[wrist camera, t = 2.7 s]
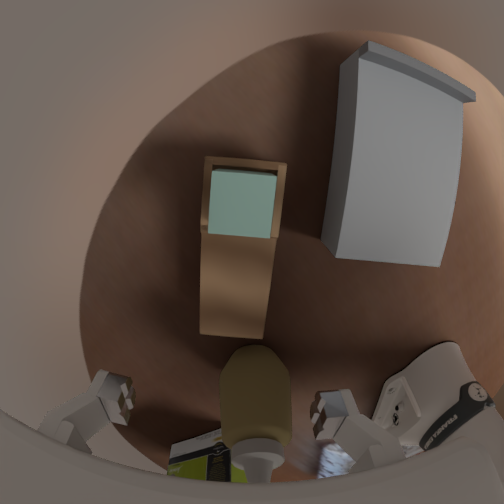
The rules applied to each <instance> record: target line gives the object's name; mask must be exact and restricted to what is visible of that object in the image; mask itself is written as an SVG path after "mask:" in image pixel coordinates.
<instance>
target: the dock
mask: <svg viewBox="0 0 504 504" xmlns="http://www.w3.org/2000/svg"><path fill="white" fill-rule="evenodd" d="M475 101H476V93H475V92H474V91H473V90H471V89H470V88H468V87H467V86H465V85H463V84H462V83H460V82H458V81H457V80H455V79H453V78H452V77H450V76H448V75H446V74H444V73H443V72H441V71H439V70H437V69H435V68H433V67H431V66H429V65H427V64H425V63H423V62H421V61H419V60H417V59H414V58H412V57H410V56H408V55H405V54H403V53H401V52H398V51H396V50H393V49H391V48H388V47H386V46H383V45H380V44H378V43H375V42H372V41H369V40H368V41H367V42H366V43H365V44H363V45H362V46H361V47H360V48H359V49H358V50H356V51H355V52H354V53H353V54H352V55H351V56H350V57H348V58H347V59H346V60H345V61H344V62H343V63H342V64H341V65H340V75H339V92H338V105H337V118H336V128H335V138H334V148H333V157H332V165H331V173H330V181H329V188H328V195H327V202H326V208H325V215H324V221H323V227H322V233H321V239H320V240H321V241H322V242H323V244H324V245H325V246H326V247H327V248H328V249H329V251H330V252H331V253H332V254H333V255H334V257H335V258H344V259H355V260H367V261H378V262H389V263H401V264H412V265H423V266H435V267H440V263H441V260H442V257H443V253H444V249H445V245H446V242H447V237H448V233H449V229H450V225H451V220H452V215H453V210H454V205H455V199H456V193H457V186H458V179H459V171H460V162H461V151H462V135H463V103H466V102H475Z"/></svg>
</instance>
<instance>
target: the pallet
mask: <svg viewBox="0 0 504 504" xmlns="http://www.w3.org/2000/svg"><path fill="white" fill-rule="evenodd" d="M216 169H231V170H243V171H254V172H264V173H272V174H273V175H275V176H277V181H276V190H275V199H274V208H273V216H272V225H271V233H270V238H258V237H247V236H235V235H223V234H210V233H208V223H209V206H210V191H211V177H212V171H213V170H216ZM286 169H287V163H280V162H271V161H262V160H252V159H241V158H228V157H212V156H205V162H204V175H203V190H202V206H201V226H200V232H202V237H201V266H200V334H206V335H216V336H227V337H239V338H254V339H263V333H264V326H265V320H266V313H267V306H268V299H269V292H270V285H271V277H272V270H273V263H274V255H275V247H276V240H277V239H278V236H279V228H280V220H281V212H282V204H283V195H284V187H285V178H286Z"/></svg>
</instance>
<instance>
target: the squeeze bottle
mask: <svg viewBox="0 0 504 504" xmlns="http://www.w3.org/2000/svg"><path fill="white" fill-rule="evenodd" d="M219 395H220V415H221V432H222V441H223V443H224V444H225V445H226V447H228V448H229V449H231V450H232V452H231V463H232V464H233V465H234V467H236V468H239V469H241V470H244V472H245V475H246V478H247V482H248V483H270V479H271V474H272V469H275V468H277V467H279V466H280V465H282V464H283V462H284V461H285V458H284V449H283V448H284V447H285V446H286V445H288V444H289V442H290V440H291V439H292V411H291V381H290V376H289V372H288V370H287V368H286V367H285V366H284V364H283V363H282V362H281V360H280V359H279V358H278V356H277V355H276V354H275V353H274V352H273V351H272V350H271V349H270V348H268V347H265V346H263V345H254V344H252V345H247V346H243V347H241V348H239V349H237V350H236V351H235V352H234V353H233V354H232V356H231V357H230V359H229V360H228V362H227V364H226V365H225V367H224V368H223V370H222V372H221V373H220V378H219Z"/></svg>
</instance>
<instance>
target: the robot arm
mask: <svg viewBox="0 0 504 504" xmlns="http://www.w3.org/2000/svg"><path fill="white" fill-rule="evenodd" d="M131 385H132V379H131V377H128V376H124V375H120V374H116V373H112V372H108V371H104V370H99V371H98V372H97V374H96V376H95V378H94V379H93V381H92V383H91V385H90V387H89V389H88V391H87V392H86V393H82V394H80V395H78V396H77V397H75V398H73V399H71V400H69V401H67V402H65V403H63V404H61V405H60V406H58V407H56V408H54V409H52V410H50V411H48V412H47V414H46V416H45V417H44V419H43V421H42V423H41V424H40V426H39V428H38V430H35V429H33V428H31V427H29V426H27V425H26V424H24V423H22V422H20V421H18V420H17V419H15V418H14V417H12V416H10V415H9V414H7V413H5V412H4V411H3V410H1V409H0V504H504V420H503V419H502V418H501V416H500V415H499V414H498V412H497V411H496V409H495V403H494V401H493V400H492V398H491V397H490V395H489V394H488V393H487V391H486V390H485V389H484V388H483V387H482V386H481V385H480V384H479V383H478V382H477V381H476V380H475V378H474V376H473V375H472V373H471V371H470V369H469V368H468V366H467V364H466V362H465V360H464V358H463V355H462V353H461V350H460V347H459V346H458V344H456V343H454V342H446V343H442V344H439V345H437V346H434V347H433V348H431V349H429V350H427V351H426V352H424V353H423V354H422V355H420V356H419V357H418V358H416V359H415V360H414V361H413V362H412V363H411V364H410V365H409V366H407V367H406V368H405V369H404V370H402V371H401V372H399V373H397V374H395V375H394V376H392V377H390V378H389V379H388V380H386V382H385V383H384V386H383V389H382V392H381V395H380V398H379V401H378V403H377V406H376V409H375V412H374V414H373V417H372V419H371V420H370V419H369V418H368V417H366V416H365V415H363V414H361V415H360V413H359V410H358V408H357V405H356V403H355V400H354V398H353V395H352V393H351V391H350V390H349V389H342V390H328V391H317V392H316V394H315V401H313V402H312V404H311V407H310V418H311V421H312V422H313V423H314V424H315V425H314V427H313V431H314V436H315V440H319V439H330V438H333V440H334V441H335V442H336V443H337V444H338V445H339V446H340V447H341V448H342V449H343V450H344V451H345V452H346V453H347V454H348V455H349V456H350V457H351V458H352V459H353V460H355V461H356V463H355V464H354V465H353V466H352V467H351V468H350V470H349V471H348V472H349V474H345V475H339V476H333V477H327V478H320V479H312V480H303V481H291V482H274V483H235V482H218V481H206V480H197V479H189V478H182V477H176V476H170V475H164V474H159V473H154V472H150V471H145V470H141V469H137V468H133V467H129V466H126V465H122V464H119V463H115V462H112V461H109V460H106V459H102V458H100V457H97V456H94V455H91V454H92V451H91V449H90V448H89V447H88V445H87V444H86V441H87V440H89V439H90V438H91V437H92V436H94V435H95V434H96V433H98V432H99V431H100V430H101V429H102V428H104V427H105V426H106V425H108V424H109V423H110V421H111V422H114V423H119V424H123V425H127V424H128V421H129V418H130V415H131V414H130V411H129V410H130V409H132V408H133V407H134V404H135V398H136V395H135V389H134V388H133V387H132V386H131ZM401 445H419V446H420V447H421V448H422V449H423V450H424V452H423V453H419V454H417V455H415V456H412V457H409V458H406V456H405V454H404V452H403V449H402V447H401Z"/></svg>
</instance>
